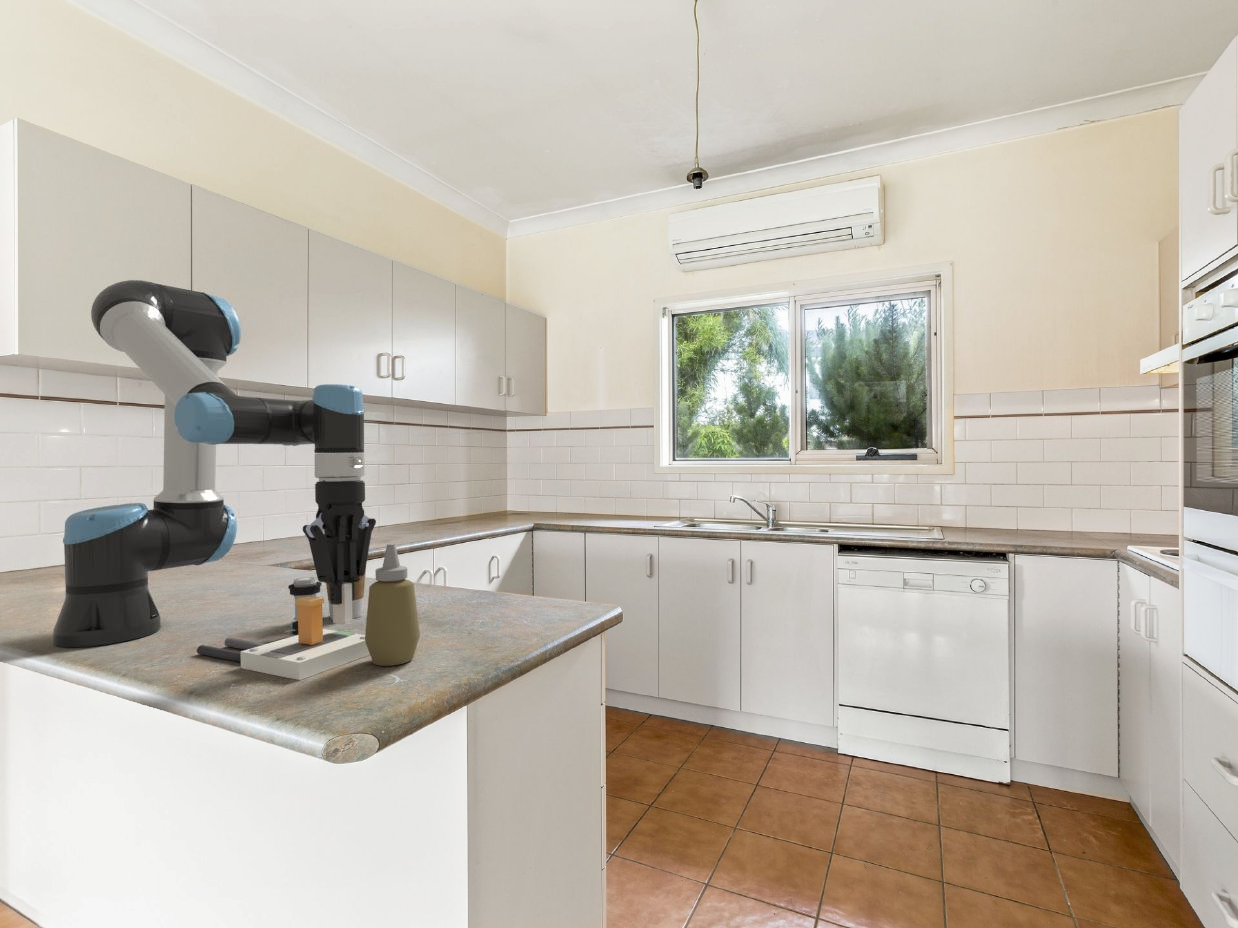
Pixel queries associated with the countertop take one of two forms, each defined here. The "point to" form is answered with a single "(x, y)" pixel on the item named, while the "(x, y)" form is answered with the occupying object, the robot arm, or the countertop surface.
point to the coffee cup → (358, 600)
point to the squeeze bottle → (392, 614)
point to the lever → (310, 620)
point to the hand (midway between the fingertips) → (342, 622)
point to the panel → (305, 655)
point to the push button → (300, 590)
